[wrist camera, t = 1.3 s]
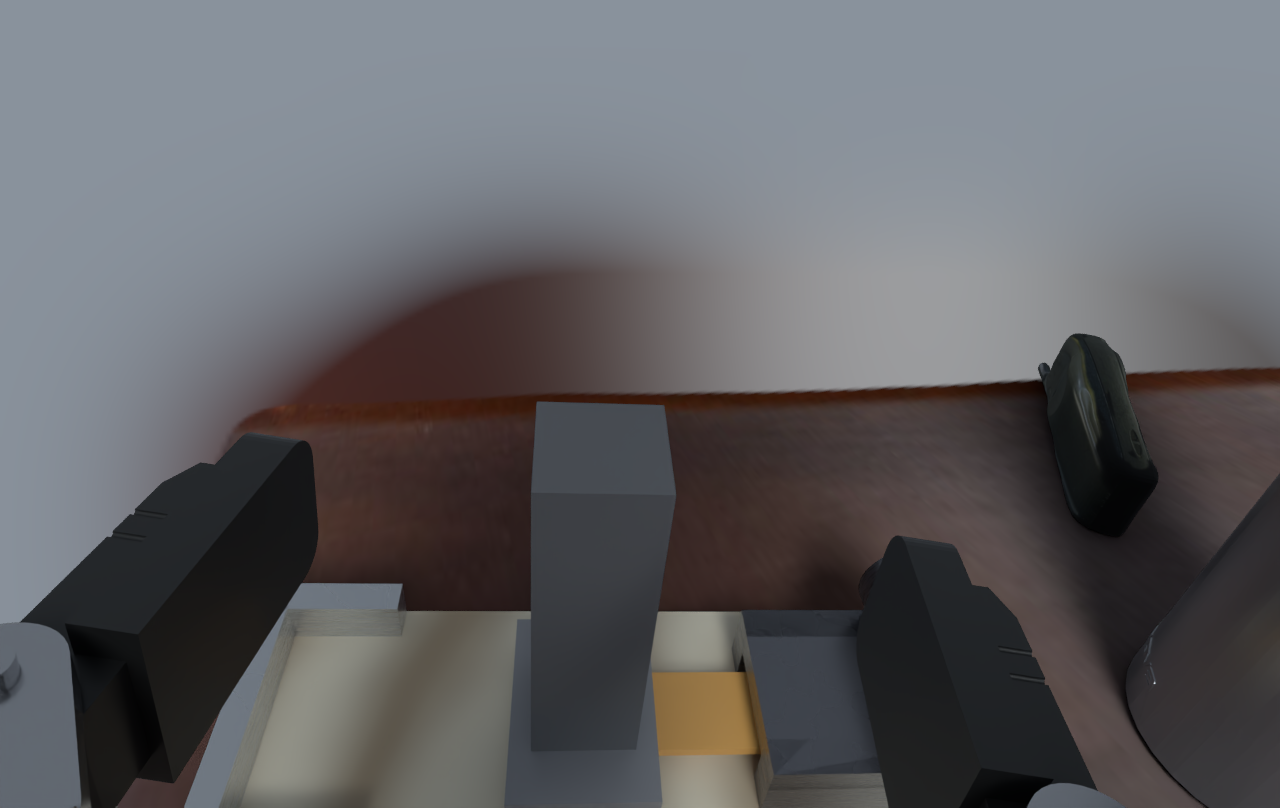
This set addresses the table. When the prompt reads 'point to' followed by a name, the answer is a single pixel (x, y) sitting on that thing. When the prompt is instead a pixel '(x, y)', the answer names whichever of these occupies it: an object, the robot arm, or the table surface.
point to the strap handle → (606, 623)
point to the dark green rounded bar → (1097, 435)
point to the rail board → (449, 717)
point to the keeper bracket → (255, 693)
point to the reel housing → (810, 707)
